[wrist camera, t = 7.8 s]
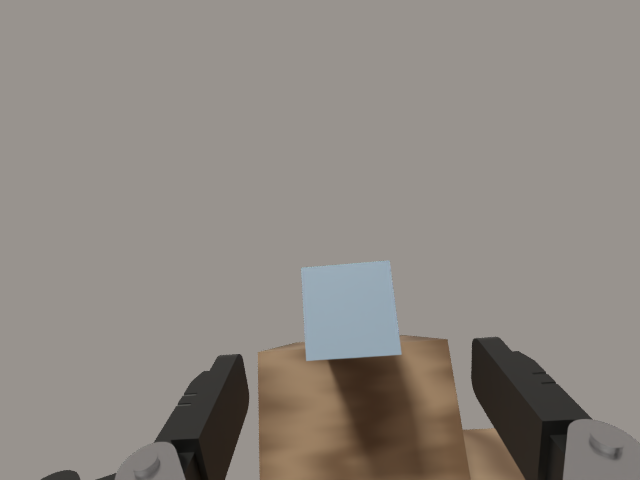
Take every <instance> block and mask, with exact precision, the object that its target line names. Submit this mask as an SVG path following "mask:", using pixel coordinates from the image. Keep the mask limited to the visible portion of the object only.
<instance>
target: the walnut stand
mask: <svg viewBox="0 0 640 480" xmlns="http://www.w3.org/2000/svg"><path fill="white" fill-rule="evenodd" d="M399 338H400V346H401V353H402V355H389V356H374V357H359V358H343V359H328V360H313V361H306V349H305V342H299V343H293V344H289V345H285V346H281V347H277V348H273V349H269V350H265V351H261V352H258V391H259V392H258V394H259V459H260V460H259V461H260V480H525V478H524V476H523V475H522V473H521V471H520V470H519V468H518V466H517V465H516V463H515V461H514V460H513V458H512V456H511V455H510V453H509V451H508V450H507V448H506V446H505V445H504V443H503V441H502V439H501V438H500V436H499V434H498V433H497V431H496V429H495V428H491V429H472V430H462V424H461V418H460V412H459V406H458V400H457V394H456V389H455V383H454V376H453V370H452V365H451V358H450V353H449V347H448V340H447V339H438V338H428V337H417V336H407V335H400V336H399Z"/></svg>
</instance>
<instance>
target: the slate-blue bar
mask: <svg viewBox="0 0 640 480" xmlns="http://www.w3.org/2000/svg"><path fill="white" fill-rule="evenodd" d="M301 271H302V273H301V274H302V291H303V292H302V293H303V310H304V329H305V349H306V361H313V360H328V359H343V358H359V357H374V356H389V355H402V353H401V346H400V338H399V330H398V322H397V315H396V307H395V299H394V292H393V284H392V276H391V269H390V261H378V262H366V263H354V264H342V265H330V266H317V267H305V268H301Z"/></svg>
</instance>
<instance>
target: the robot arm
mask: <svg viewBox="0 0 640 480" xmlns="http://www.w3.org/2000/svg"><path fill="white" fill-rule="evenodd" d="M471 379H472V386H473V390H474V393H475V395H476V397H477V399H478V401H479V402H480V404H481V406H482V407H483V409H484V411H485V413H486V414H487V416H488V418H489V419H490V421H491V423H492V424H493V426H494V428H495V429H496V431H497V433H498V434H499V436H500V438H501V439H502V441H503V443H504V445H505V446H506V448H507V450H508V451H509V453H510V455H511V456H512V458H513V460H514V461H515V463H516V465H517V466H518V468H519V470H520V471H521V473H522V475H523V476H524V478H525V480H640V443H639V442H638V441H637V440H635V439H634V438H633V437H632V436H630V435H629V434H627V433H626V432H624V431H623V430H621V429H619V428H617V427H615V426H613V425H610V424H608V423H605V422H601V421H597V420H593V419H592V418H591V417H590V416H589V415H588V414H587V413H586V412H585V411H584V410H583V409H582V408H581V407H580V406H579V405H578V404H577V403H576V402H575V401H574V400H573V399H572V398H571V397H570V396H569V395H568V394H567V393H566V392H565V391H564V390H563V389H562V388H561V387H560V386H559V385H558V384H556V382H555V381H554V380H553V379H552V378H551V377H550V376H549V375H548V374H546V372H545V371H544V370H543V369H542V368H541V367H540V366H539V365H538V364H537V363H536V362H535V361H534V360H533V359H531V358H529V357H527V356H526V355H524V354H522V353H521V352H519V351H514V352H512V351H511V350H510V349H509V348H508V347H507V345H505V343H504V342H503V341H502V340H501V339H500V338H498V337H488V338H476V339H473V342H472V371H471ZM248 405H249V390H248V384H247V379H246V374H245V368H244V363H243V358H242V356H241V355H240V354H233V355H220V356H218V357H217V359H216V360H215V362H214V364H213V366H212V368H211V369H210V371H204V372H202V373H201V374H200V375H199V376H197V377H196V378H195V379H194V380H193V381H192V382H191V383H190V385H189V386H188V388H187V390H186V391H185V393H184V396H182V398H181V399H180V401H179V403H178V406H176V408H175V409H174V411H173V412H172V414H171V416H170V417H169V419H168V420H167V422H166V424H165V425H164V427H163V429H162V430H161V432H160V433H159V435H158V437H157V438H156V440H155V442H154V443H152V444H149V445H147V446H144V447H142V448H140V449H139V450H137V451H136V452H134V453H133V454H132V455H130V456H129V457H128V458H127V459H126V460H125V461H124V462H123V464H122V465H121V466H120V468H119V469H118V471H117V473H115V474H112V475H109V476H106V477H103V478H100V479H97V480H225V477H226V475H227V471H228V468H229V465H230V462H231V459H232V456H233V453H234V450H235V447H236V444H237V441H238V438H239V435H240V432H241V429H242V426H243V423H244V420H245V417H246V414H247V410H248ZM41 480H80V477H79V475H78V474H77V472H75V471H71V470H65V471H60V472H56V473H53V474H51V475H49V476H47V477H45V478H43V479H41Z"/></svg>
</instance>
